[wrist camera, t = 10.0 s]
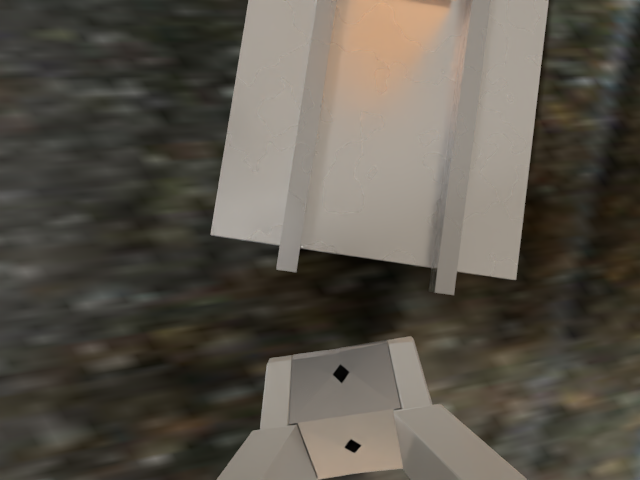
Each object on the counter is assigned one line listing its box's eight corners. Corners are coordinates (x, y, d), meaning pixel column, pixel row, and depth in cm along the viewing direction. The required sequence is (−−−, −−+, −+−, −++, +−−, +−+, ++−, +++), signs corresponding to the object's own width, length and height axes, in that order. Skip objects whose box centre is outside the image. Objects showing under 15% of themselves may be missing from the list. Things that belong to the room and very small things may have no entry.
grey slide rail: (502, 301, 19) (585, 316, 14) (211, 259, 18) (176, 257, 13) (554, -146, 20) (650, -296, 15) (285, -201, 20) (282, -378, 14)
